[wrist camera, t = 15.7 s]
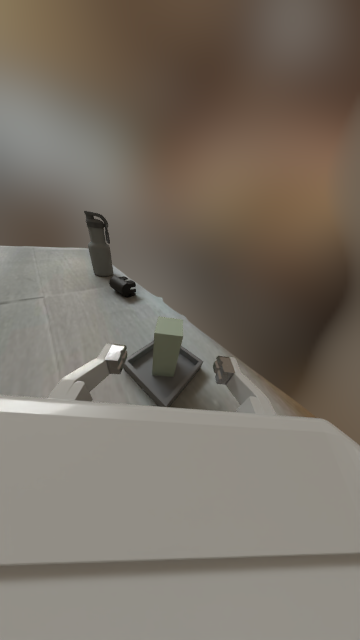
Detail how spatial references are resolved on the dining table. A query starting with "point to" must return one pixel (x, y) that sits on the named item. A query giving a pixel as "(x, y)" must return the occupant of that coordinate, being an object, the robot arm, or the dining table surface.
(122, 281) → the end cap
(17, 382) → the dining table surface
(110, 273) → the water bottle
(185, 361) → the grey tray
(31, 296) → the dining table surface
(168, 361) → the sage block
